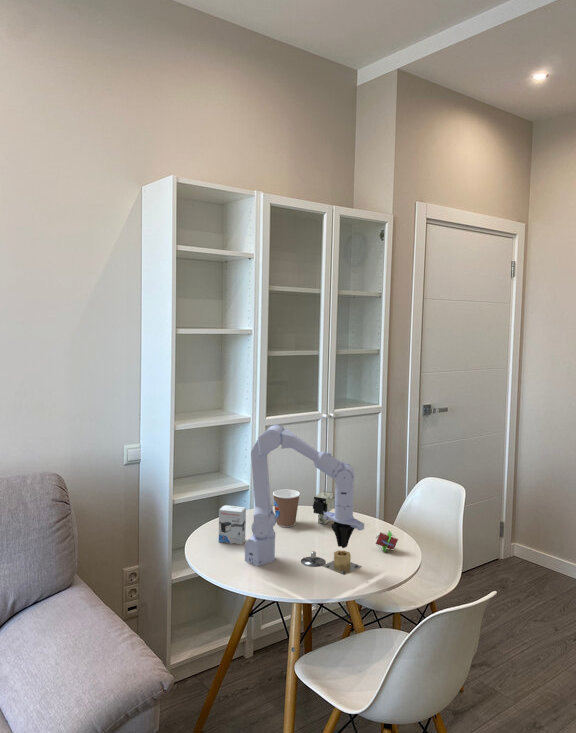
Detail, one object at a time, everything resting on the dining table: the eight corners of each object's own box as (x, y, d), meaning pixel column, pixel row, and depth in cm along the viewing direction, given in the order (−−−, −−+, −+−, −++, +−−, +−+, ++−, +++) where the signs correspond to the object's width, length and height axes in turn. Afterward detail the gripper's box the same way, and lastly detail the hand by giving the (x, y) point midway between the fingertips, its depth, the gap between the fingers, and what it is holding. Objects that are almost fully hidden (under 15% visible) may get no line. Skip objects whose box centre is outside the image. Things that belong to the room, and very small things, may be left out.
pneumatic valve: (311, 526, 227) (312, 495, 226) (323, 517, 237) (324, 487, 236) (325, 528, 224) (326, 497, 223) (336, 519, 235) (337, 489, 234)
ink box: (217, 542, 209) (218, 509, 208) (222, 537, 214) (223, 504, 213) (241, 545, 207) (241, 511, 206) (245, 539, 212) (246, 507, 211)
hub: (344, 578, 183) (344, 565, 183) (321, 568, 189) (322, 556, 189) (362, 569, 190) (362, 557, 189) (339, 560, 196) (340, 548, 195)
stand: (314, 572, 187) (314, 559, 186) (295, 564, 192) (295, 552, 192) (330, 564, 193) (331, 552, 192) (312, 557, 198) (312, 545, 198)
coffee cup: (271, 519, 233) (272, 489, 232) (298, 519, 234) (299, 489, 233) (272, 528, 223) (273, 497, 222) (300, 529, 224) (301, 497, 223)
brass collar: (343, 570, 186) (343, 558, 186) (330, 565, 189) (331, 553, 189) (353, 566, 189) (353, 553, 189) (340, 561, 193) (341, 549, 193)
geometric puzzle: (399, 540, 209) (386, 522, 208) (404, 548, 202) (391, 529, 201) (382, 552, 209) (369, 534, 208) (387, 560, 202) (373, 542, 201)
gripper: (370, 506, 185) (369, 549, 187) (334, 496, 195) (332, 536, 197) (356, 512, 180) (355, 555, 182) (319, 500, 190) (318, 542, 192)
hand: (342, 546), depth 189 cm, fingers closed
